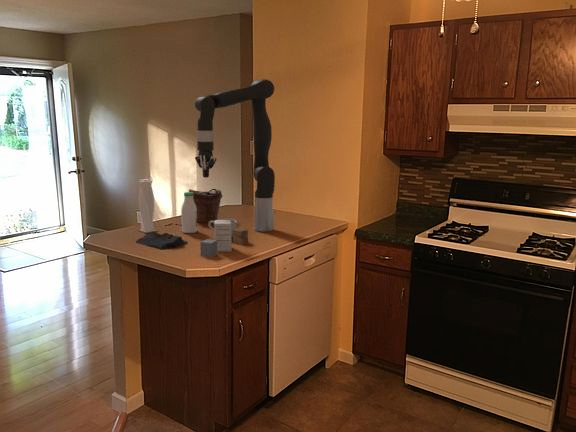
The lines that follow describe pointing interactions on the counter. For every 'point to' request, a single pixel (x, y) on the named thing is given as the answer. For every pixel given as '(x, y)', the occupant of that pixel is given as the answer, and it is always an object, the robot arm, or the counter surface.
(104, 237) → the counter surface
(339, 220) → the counter surface
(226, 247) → the supplement box
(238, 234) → the walnut block
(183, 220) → the milk bottle
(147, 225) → the skyscraper
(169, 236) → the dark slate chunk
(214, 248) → the slate-grey block
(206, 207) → the wooden bucket
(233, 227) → the teacup
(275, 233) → the counter surface
